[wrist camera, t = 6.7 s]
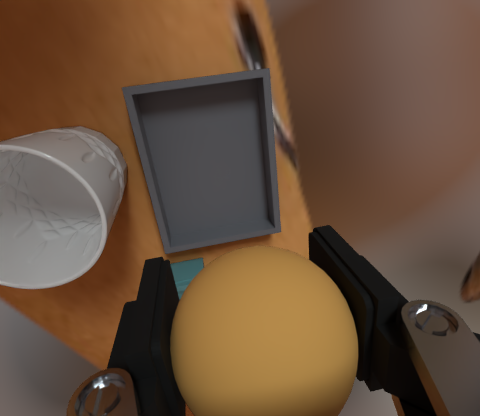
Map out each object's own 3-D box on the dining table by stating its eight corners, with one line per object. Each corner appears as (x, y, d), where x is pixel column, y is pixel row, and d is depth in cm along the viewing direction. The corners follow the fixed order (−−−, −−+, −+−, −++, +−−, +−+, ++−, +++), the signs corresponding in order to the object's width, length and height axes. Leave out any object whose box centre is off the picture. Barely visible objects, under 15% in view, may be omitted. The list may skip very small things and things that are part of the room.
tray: (128, 86, 22) (121, 87, 20) (260, 69, 23) (269, 68, 21) (167, 238, 28) (165, 254, 25) (273, 219, 29) (281, 232, 26)
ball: (158, 232, 9) (133, 376, 5) (312, 204, 10) (418, 311, 5) (188, 347, 11) (190, 523, 7) (314, 319, 12) (393, 467, 7)
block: (164, 265, 29) (162, 289, 25) (202, 257, 29) (204, 280, 26) (172, 294, 30) (171, 321, 27) (208, 287, 30) (211, 312, 27)
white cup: (134, 217, 26) (107, 291, 17) (33, 210, 25) (-56, 288, 16) (136, 125, 23) (105, 155, 14) (21, 110, 22) (-96, 134, 13)
